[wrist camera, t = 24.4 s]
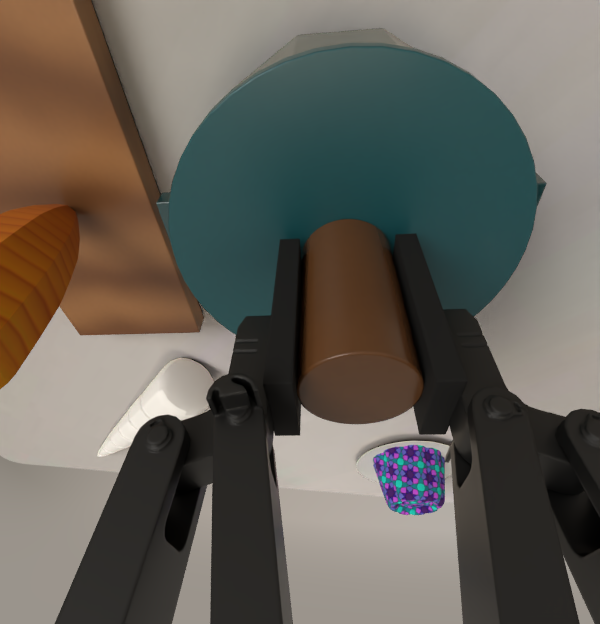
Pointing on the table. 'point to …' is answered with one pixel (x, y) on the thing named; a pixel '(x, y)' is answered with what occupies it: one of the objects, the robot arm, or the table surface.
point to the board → (86, 169)
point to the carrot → (32, 276)
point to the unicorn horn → (163, 401)
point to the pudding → (408, 474)
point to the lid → (353, 209)
